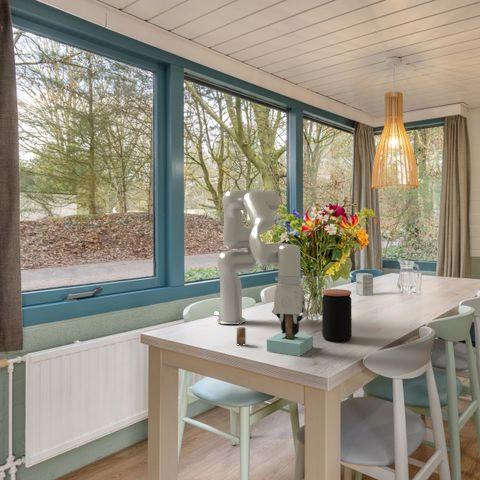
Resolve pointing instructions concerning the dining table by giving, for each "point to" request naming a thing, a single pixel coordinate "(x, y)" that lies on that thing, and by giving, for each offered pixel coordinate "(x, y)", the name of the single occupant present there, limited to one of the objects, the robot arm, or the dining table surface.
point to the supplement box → (364, 284)
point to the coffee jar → (336, 315)
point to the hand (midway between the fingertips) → (290, 332)
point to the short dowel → (241, 335)
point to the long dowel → (289, 327)
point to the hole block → (290, 344)
